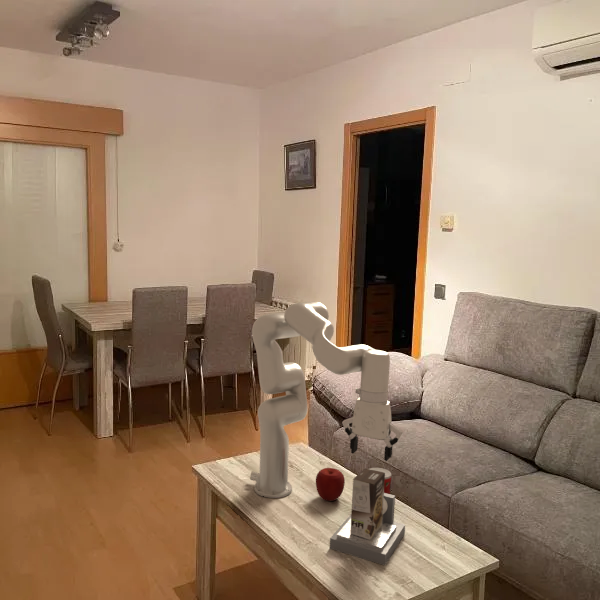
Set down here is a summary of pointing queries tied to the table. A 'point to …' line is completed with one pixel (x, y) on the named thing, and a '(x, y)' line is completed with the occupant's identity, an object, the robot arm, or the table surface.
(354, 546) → the base
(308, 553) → the table surface
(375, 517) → the coffee box
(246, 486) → the table surface
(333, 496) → the apple
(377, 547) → the scale pan
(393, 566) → the table surface
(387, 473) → the canned food
